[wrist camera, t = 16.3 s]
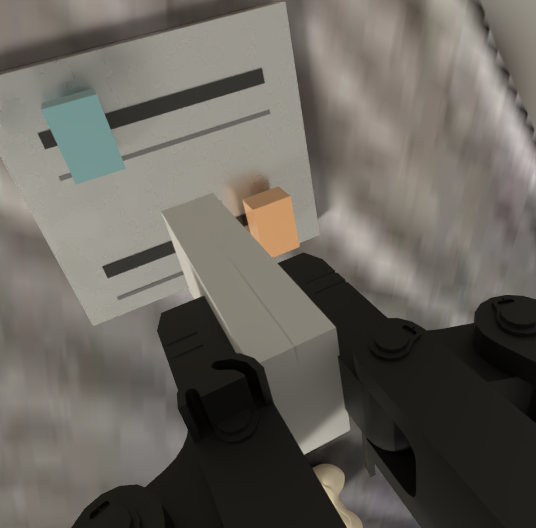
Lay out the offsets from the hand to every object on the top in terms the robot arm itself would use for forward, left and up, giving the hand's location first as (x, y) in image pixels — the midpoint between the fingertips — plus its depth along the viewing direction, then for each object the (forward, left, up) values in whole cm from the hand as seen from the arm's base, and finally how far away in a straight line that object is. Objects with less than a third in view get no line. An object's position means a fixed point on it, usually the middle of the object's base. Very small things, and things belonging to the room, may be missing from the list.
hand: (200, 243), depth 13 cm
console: (+3, -5, -22) cm, 22 cm away
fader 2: (+8, -10, -19) cm, 23 cm away
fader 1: (-2, 0, -19) cm, 19 cm away
